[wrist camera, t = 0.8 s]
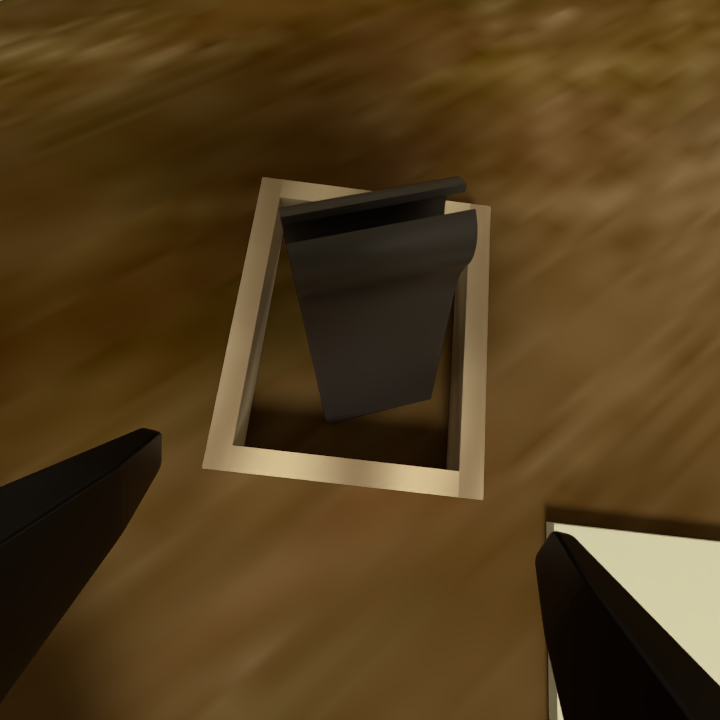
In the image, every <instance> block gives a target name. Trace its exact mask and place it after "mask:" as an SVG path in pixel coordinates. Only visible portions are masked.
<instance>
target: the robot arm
mask: <svg viewBox="0 0 720 720" xmlns="http://www.w3.org/2000/svg"><path fill="white" fill-rule="evenodd" d="M161 462H162V435H161V433H160V432H158V431H155V430H151V429H147V428H141V429H138V430H135V431H133V432H131V433H128V434H126V435H123V436H121V437H119V438H116V439H114V440H112V441H109V442H107V443H104V444H102V445H100V446H97V447H95V448H92V449H90V450H88V451H85V452H83V453H81V454H78V455H76V456H73V457H71V458H69V459H66V460H64V461H61V462H59V463H57V464H54V465H52V466H49V467H47V468H45V469H42V470H40V471H38V472H35V473H33V474H30V475H28V476H26V477H23V478H21V479H18V480H16V481H14V482H11V483H9V484H6V485H4V486H2V487H0V703H1V702H2V700H3V699H4V697H5V696H6V695H7V693H8V692H9V690H10V689H11V688H12V686H13V685H14V683H15V682H16V681H17V679H18V678H19V677H20V675H21V674H22V672H23V671H24V670H25V668H26V667H27V665H28V664H29V663H30V661H31V660H32V658H33V657H34V656H35V654H36V653H37V652H38V650H39V649H40V647H41V646H42V645H43V643H44V642H45V640H46V639H47V638H48V636H49V635H50V633H51V632H52V631H53V629H54V628H55V627H56V625H57V624H58V622H59V621H60V620H61V618H62V617H63V615H64V614H65V613H66V611H67V610H68V608H69V607H70V606H71V604H72V603H73V602H74V600H75V599H76V597H77V596H78V595H79V593H80V592H81V590H82V589H83V588H84V586H85V585H86V583H87V582H88V581H89V579H90V578H91V577H92V575H93V574H94V572H95V571H96V570H97V568H98V567H99V565H100V564H101V563H102V561H103V560H104V558H105V557H106V556H107V554H108V553H109V552H110V550H111V549H112V547H113V546H114V545H115V543H116V542H117V540H118V539H119V537H120V536H121V534H122V533H123V531H124V530H125V528H126V526H127V525H128V523H129V521H130V520H131V518H132V516H133V514H134V513H135V511H136V509H137V507H138V506H139V504H140V502H141V500H142V499H143V497H144V495H145V493H146V492H147V490H148V488H149V486H150V485H151V483H152V481H153V479H154V478H155V476H156V474H157V472H158V471H159V468H160V466H161ZM535 566H536V574H537V582H538V589H539V597H540V605H541V613H542V621H543V628H544V634H545V639H546V644H547V649H548V653H549V658H550V662H551V667H552V671H553V676H554V680H555V684H556V689H557V693H558V698H559V702H560V707H561V711H562V715H563V720H720V685H719V684H718V683H717V682H716V681H715V680H714V679H713V678H712V677H711V676H710V675H709V674H708V673H707V672H706V671H705V670H704V669H703V668H702V667H701V666H700V665H699V664H698V663H697V662H696V661H695V660H694V659H693V658H692V657H691V656H690V655H689V654H688V653H687V652H686V651H685V650H684V649H683V648H682V647H681V646H680V645H679V644H678V642H677V641H676V640H675V639H674V638H673V637H672V636H671V635H670V634H669V633H668V632H667V631H666V630H665V629H664V628H663V627H662V626H661V625H660V624H659V623H658V622H657V621H656V620H655V619H654V618H653V617H652V616H651V615H650V614H649V613H648V612H647V611H646V610H645V609H644V608H643V607H642V606H641V605H640V604H639V603H638V602H637V601H636V600H635V599H634V597H633V596H632V595H631V594H630V593H629V592H628V591H627V590H626V589H625V588H624V587H623V586H622V585H621V584H620V583H619V582H618V581H617V580H616V579H615V578H614V577H613V576H612V575H611V574H610V573H609V572H608V571H607V570H606V569H605V568H604V567H603V566H602V565H601V564H600V563H599V562H598V561H597V560H596V559H595V558H594V557H593V556H592V555H591V554H590V553H589V551H588V550H587V549H586V548H585V547H584V546H583V545H582V544H581V543H580V542H579V541H578V540H577V539H576V538H575V537H574V536H572V535H570V534H567V533H563V532H559V531H553V532H551V533H550V534H549V536H548V537H547V539H546V541H545V542H544V544H543V545H542V547H541V548H540V550H539V551H538V553H537V556H536V560H535Z"/></svg>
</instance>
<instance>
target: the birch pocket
mask: <svg viewBox="0 0 720 720" xmlns="http://www.w3.org/2000/svg"><path fill="white" fill-rule="evenodd" d="M365 192H370V191H368V190H360V189H352V188H344V187H337V186H329V185H321V184H313V183H305V182H298V181H290V180H282V179H274V178H267V177H262V182H261V187H260V191H259V196H258V201H257V206H256V211H255V215H254V220H253V225H252V230H251V235H250V240H249V244H248V249H247V254H246V259H245V264H244V268H243V273H242V278H241V283H240V288H239V292H238V297H237V302H236V307H235V312H234V317H233V321H232V326H231V331H230V336H229V341H228V345H227V350H226V355H225V360H224V365H223V369H222V374H221V379H220V384H219V389H218V394H217V398H216V403H215V408H214V413H213V418H212V422H211V427H210V432H209V437H208V442H207V446H206V451H205V456H204V461H203V466H202V468H204V469H213V470H222V471H231V472H240V473H249V474H257V475H266V476H275V477H284V478H293V479H302V480H310V481H319V482H328V483H337V484H346V485H355V486H364V487H372V488H381V489H390V490H399V491H408V492H417V493H426V494H434V495H443V496H452V497H461V498H470V499H479V500H483V486H484V447H485V408H486V368H487V329H488V290H489V250H490V211H491V206H484V205H476V204H469V203H461V202H453V201H446V202H445V212H444V214H449V213H455V212H460V211H465V210H471V209H476V214H477V226H478V235H477V245H476V250H475V254H474V256H473V259H472V261H471V262H470V263H469V264H468V265H467V266H466V267H465V268H464V270H463V271H462V273H461V274H460V276H459V279H458V281H457V284H456V288H455V304H454V324H453V344H452V364H451V384H450V404H449V424H448V444H447V465H446V470H444V469H435V468H427V467H418V466H409V465H400V464H392V463H383V462H374V461H365V460H357V459H348V458H339V457H330V456H322V455H313V454H304V453H295V452H287V451H278V450H269V449H260V448H252V447H244V446H245V440H246V435H247V429H248V424H249V418H250V413H251V407H252V402H253V396H254V391H255V385H256V380H257V375H258V369H259V364H260V358H261V353H262V347H263V342H264V336H265V331H266V325H267V320H268V314H269V309H270V303H271V298H272V293H273V287H274V282H275V276H276V271H277V265H278V260H279V254H280V249H281V243H282V238H283V227H282V223H281V219H280V214H279V210H278V208H280V207H286V206H291V205H297V204H303V203H308V202H314V201H320V200H325V199H331V198H337V197H342V196H348V195H353V194H359V193H365Z"/></svg>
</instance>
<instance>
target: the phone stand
mask: <svg viewBox="0 0 720 720" xmlns="http://www.w3.org/2000/svg"><path fill="white" fill-rule="evenodd" d="M465 189H466V182H465V181H464V180H463V179H462V178H460V177H457V176H455V177H450V178H444V179H438V180H433V181H427V182H421V183H416V184H410V185H404V186H399V187H393V188H387V189H382V190H376V191H370V192H365V193H359V194H353V195H348V196H342V197H337V198H331V199H325V200H320V201H314V202H308V203H303V204H297V205H291V206H286V207H280V208H278V210H279V214H280V219H281V223H282V227H283V232H284V236H285V241H286V246H287V250H288V255H289V259H290V264H291V268H292V272H293V277H294V281H295V286H296V290H297V295H298V299H299V303H300V308H301V312H302V317H303V321H304V325H305V330H306V334H307V339H308V343H309V347H310V352H311V356H312V361H313V365H314V370H315V374H316V378H317V383H318V387H319V392H320V396H321V401H322V405H323V409H324V414H325V418H326V423H327V424H328V423H332V422H336V421H341V420H345V419H349V418H353V417H357V416H362V415H366V414H370V413H374V412H378V411H382V410H387V409H391V408H395V407H399V406H403V405H407V404H412V403H416V402H420V401H424V400H428V399H431V395H432V391H433V386H434V382H435V377H436V373H437V368H438V364H439V360H440V355H441V351H442V346H443V342H444V337H445V333H446V328H447V324H448V319H449V315H450V310H451V306H452V301H453V297H454V292H455V288H456V284H457V281H458V279H459V276H460V274H461V273H462V271H463V270H464V268H465V267H466V266H467V265H468V264H469V263H470V262H471V261H472V259H473V256H474V254H475V250H476V245H477V235H478V226H477V214H476V209H471V210H465V211H460V212H455V213H449V214H444V212H445V202H446V198H447V195H451V194H456V193H462V192H465Z"/></svg>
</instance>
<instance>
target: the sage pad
mask: <svg viewBox="0 0 720 720" xmlns="http://www.w3.org/2000/svg"><path fill="white" fill-rule="evenodd" d="M553 531H559V532H563V533H567V534H570V535H572V536H574V537H575V538H576V539H577V540H578V541H579V542H580V543H581V544H582V545H583V546H584V547H585V548H586V549H587V550H588V551H589V553H590V554H591V555H592V556H593V557H594V558H595V559H596V560H597V561H598V562H599V563H600V564H601V565H602V566H603V567H604V568H605V569H606V570H607V571H608V572H609V573H610V574H611V575H612V576H613V577H614V578H615V579H616V580H617V581H618V582H619V583H620V584H621V585H622V586H623V587H624V588H625V589H626V590H627V591H628V592H629V593H630V594H631V595H632V596H633V597H634V599H635V600H636V601H637V602H638V603H639V604H640V605H641V606H642V607H643V608H644V609H645V610H646V611H647V612H648V613H649V614H650V615H651V616H652V617H653V618H654V619H655V620H656V621H657V622H658V623H659V624H660V625H661V626H662V627H663V628H664V629H665V630H666V631H667V632H668V633H669V634H670V635H671V636H672V637H673V638H674V639H675V640H676V641H677V642H678V644H679V645H680V646H681V647H682V648H683V649H684V650H685V651H686V652H687V653H688V654H689V655H690V656H691V657H692V658H693V659H694V660H695V661H696V662H697V663H698V664H699V665H700V666H701V667H702V668H703V669H704V670H705V671H706V672H707V673H708V674H709V675H710V676H711V677H712V678H713V679H714V680H715V681H716V682H717V683H718V684H719V685H720V541H714V540H705V539H696V538H687V537H678V536H669V535H660V534H651V533H642V532H633V531H624V530H615V529H607V528H598V527H589V526H580V525H571V524H562V523H553V522H546V539H547V537H548V536H549V534H550V533H551V532H553ZM548 683H549V720H563V715H562V711H561V707H560V702H559V698H558V693H557V689H556V684H555V680H554V676H553V671H552V667H551V662H550V658H549V653H548Z"/></svg>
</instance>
